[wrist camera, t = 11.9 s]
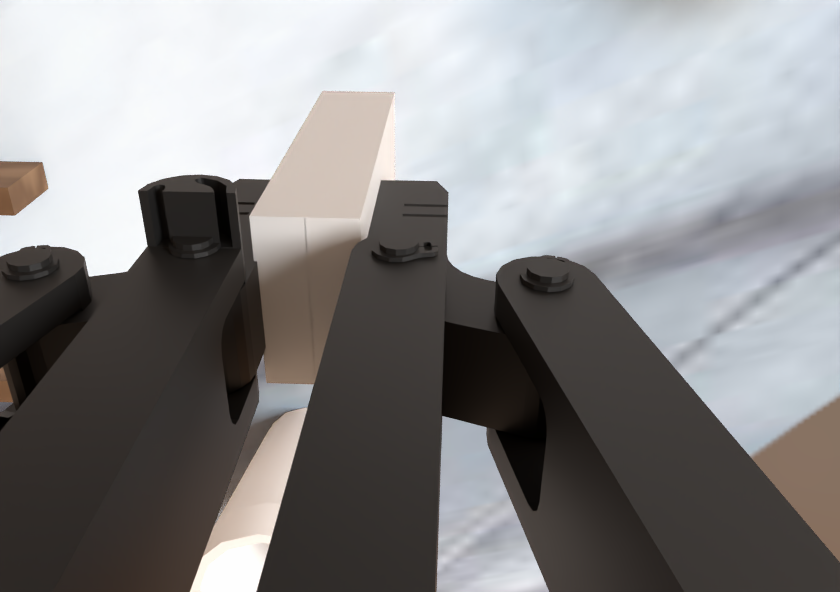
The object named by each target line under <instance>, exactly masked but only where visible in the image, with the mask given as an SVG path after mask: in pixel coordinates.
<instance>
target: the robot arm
mask: <svg viewBox="0 0 840 592" xmlns="http://www.w3.org/2000/svg"><path fill="white" fill-rule="evenodd" d="M138 193H139V199H140V205H141V210H142V216H143V222H144V228H145V233H146V239H147V245H148V247H147V248H146V249H145V250H144V252H143V253H142V254H141V255H140V257H139V258H138V259H137V260H136V262H135V263H134V264H133V265H132V267H131V268H130V269H129V270H128V272H123V273H116V274H108V275H100V276H92V277H89V276H88V272H87V267H86V262H85V258H84V257H83V256H82V255H81V254H80V253H79V252H78V251H75V250H72V249H68V248H65V247H50V246H48V245H41V246H37V248H35V246H31V247H25V248H22V249H20V251H17V252H13V253H9V254H6V255H4V256H1V257H0V369H1V368H2V367H3V369H4V373H5V376H6V379H7V383H8V386H9V390H10V393H11V396H12V400H13V404H12V405H10V406H9V407H8V408H7V409H6V410H4V411H2V412H0V592H190V590H191V587H192V585H193V582H194V579H195V576H196V574H197V571H198V568H199V565H200V563H201V560H202V557H203V554H204V552H205V549H206V546H207V543H208V541H209V538H210V535H211V532H212V529H213V527H214V524H215V521H216V518H217V516H218V513H219V510H220V507H221V505H222V502H223V499H224V496H225V494H226V491H227V488H228V485H229V483H230V480H231V477H232V474H233V472H234V469H235V466H236V463H237V461H238V458H239V455H240V452H241V449H242V447H243V444H244V441H245V438H246V436H247V433H248V430H249V427H250V425H251V422H252V419H253V416H254V414H255V411H256V408H257V405H258V403H259V388H258V379H257V369H258V366H259V364H260V361H261V358H262V356H263V353H264V363H265V372H266V382H267V383H289V384H314V386H313V390H312V394H311V397H310V401H309V404H308V408H307V412H306V415H305V419H304V422H303V426H302V430H301V433H300V437H299V440H298V444H297V447H296V451H295V455H294V458H293V462H292V465H291V469H290V473H289V476H288V480H287V483H286V487H285V491H284V494H283V498H282V501H281V505H280V509H279V512H278V516H277V519H276V523H275V526H274V530H273V534H272V537H271V541H270V544H269V548H268V552H267V555H266V559H265V562H264V566H263V570H262V573H261V577H260V580H259V584H258V587H257V591H256V592H436V589H437V559H438V528H439V497H440V466H441V440H442V416H445V417H449V418H453V419H457V420H461V421H465V422H469V423H472V424H476V425H480V426H484V427H487V432H486V434H487V443H488V447H489V449H490V451H491V454H492V456H493V459H494V461H495V463H496V466H497V468H498V470H499V473H500V475H501V478H502V480H503V482H504V485H505V487H506V489H507V492H508V494H509V497H510V499H511V501H512V504H513V506H514V509H515V511H516V513H517V516H518V518H519V520H520V523H521V525H522V528H523V530H524V532H525V535H526V537H527V540H528V542H529V544H530V547H531V549H532V551H533V554H534V556H535V559H536V561H537V563H538V566H539V568H540V570H541V573H542V575H543V578H544V580H545V582H546V585H547V587H548V590H549V592H840V562H839V561H838V560H837V559H836V557H835V556H834V555H833V554H832V553H831V552H830V550H829V549H828V548H827V547H826V546H825V545H824V543H823V542H822V541H821V540H820V539H819V537H818V536H817V535H816V534H815V533H814V532H813V530H812V529H811V528H810V527H809V526H808V525H807V523H806V522H805V521H804V520H803V519H802V517H801V516H800V515H799V514H798V513H797V512H796V511H795V509H794V508H793V507H792V506H791V504H790V503H789V502H788V501H787V500H786V499H785V497H784V496H783V495H782V494H781V493H780V492H779V490H778V489H777V488H776V487H775V486H774V484H773V483H772V482H771V481H770V480H769V479H768V478H767V476H766V475H765V474H764V473H763V472H762V470H761V469H760V468H759V467H758V466H757V464H756V463H755V462H754V461H753V460H752V459H751V457H750V456H749V455H748V454H747V453H746V451H745V450H744V449H743V448H742V447H741V446H740V444H739V443H738V442H737V441H736V440H735V439H734V437H733V436H732V435H731V434H730V433H729V431H728V430H727V429H726V428H725V427H724V426H723V424H722V423H721V422H720V421H719V420H718V419H717V417H716V416H715V415H714V414H713V413H712V411H711V410H710V409H709V408H708V407H707V406H706V404H705V403H704V402H703V401H702V400H701V398H700V397H699V396H698V395H697V394H696V393H695V391H694V390H693V389H692V388H691V387H690V386H689V384H688V383H687V382H686V381H685V380H684V378H683V377H682V376H681V375H680V374H679V373H678V371H677V370H676V369H675V368H674V367H673V366H672V364H671V363H670V362H669V361H668V360H667V358H666V357H665V356H664V355H663V354H662V353H661V351H660V350H659V349H658V348H657V347H656V346H655V344H654V343H653V342H652V341H651V340H650V338H649V337H648V336H647V335H646V334H645V333H644V331H643V330H642V329H641V328H640V327H639V325H638V324H637V323H636V322H635V321H634V320H633V318H632V317H631V316H630V315H629V314H628V313H627V311H626V310H625V309H624V308H623V307H622V305H621V304H620V303H619V302H618V301H617V300H616V298H615V297H614V296H613V295H612V294H611V293H610V291H609V290H608V289H607V288H606V287H605V285H604V284H603V283H602V282H601V281H600V280H599V278H598V277H597V276H596V275H595V274H594V273H593V272H591V271H590V270H589V269H587V268H586V267H585V266H582V265H580V264H577V263H575V262H572V261H569V260H568V259H566V258H562V257H557V258H555V256H549V255H544V256H541V257H526V258H521V259H516V260H513V261H511V262H509V263H507V264H505V265H503V266H502V267H501V268H500V269H499V271H498V272H497V274H496V282H494V281H489V280H484V279H480V278H477V277H473V276H470V275H468V274H466V273H463V272H461V271H460V270H458V269H457V268H455V267H454V266H453V265H452V264H451V263H450V262H449V260H448V257H447V223H448V192H447V191H446V190H445V189H444V188H443V187H442V186H441V185H440V184H439V183H438V182H437V181H398V180H395V92H344V91H322V93H321V94H320V96H319V98H318V100H317V101H316V103H315V105H314V106H313V108H312V110H311V111H310V113H309V115H308V117H307V118H306V120H305V122H304V123H303V125H302V127H301V129H300V130H299V132H298V134H297V135H296V137H295V139H294V141H293V142H292V144H291V146H290V147H289V149H288V151H287V152H286V154H285V156H284V158H283V159H282V161H281V163H280V164H279V166H278V168H277V170H276V171H275V173H274V175H273V176H272V178H271V180H257V179H239V180H237V181H235V182H234V183H232V182H231V181H230V180H227V179H224V178H221V177H218V176H209V175H183V176H176V177H171V178H165V179H161V180H159V181H156V182H153V183H150V184H147V185H146V186H144V187H143V188H141V189H140V190H138Z"/></svg>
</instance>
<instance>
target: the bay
mask: <svg viewBox="0 0 840 592" xmlns="http://www.w3.org/2000/svg"><path fill="white" fill-rule="evenodd" d="M47 189H48V185H47V180H46V176H45V172H44V168H43V163H42V162H2V161H0V215H16V214H17V213H19V212H20V211H21V210H22V209H24V208H25V207H26V206H27V205H29V204H30V203H31V202H32V201H34V200H35V199H36V198H37V197H39V196H40V195H41V194H42V193H43V192H45V191H46V190H47ZM0 402H13V400H12V396H11V393H10V390H9V386H8V383H7V379H6V376H5V373H4V369H3V367H2V368H1V369H0Z"/></svg>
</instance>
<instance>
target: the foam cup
mask: <svg viewBox="0 0 840 592" xmlns="http://www.w3.org/2000/svg"><path fill="white" fill-rule="evenodd" d="M306 412H307V408H302V409H298V410H294V411H290V412H286V413H285V414H284V415H282V416H281V417H280V418H279V419H278V420H276V421H275V422H274V423H273V424H272V427H271V428H270V429H269V430H268V432H267V434H266V436H265V438H264V439H263V441H262V443H261V445H260V446H259V448H258V450H257V452H256V453H255V455H254V457H253V459H252V461H251V462H250V464H249V466H248V468H247V469H246V471H245V473H244V475H243V477H242V478H241V480H240V482H239V484H238V485H237V487H236V489H235V491H234V492H233V494H232V496H231V498H230V500H229V501H228V503H227V505H226V507H225V508H224V510H223V512H222V514H221V515H220V517H219V519H218V521H217V523H216V524H215V525H214V527H213V529H212V532H211V535H210V538H209V541H208V543H207V546H206V549H205V552H204V554H203V557H202V560H201V563H200V565H199V568H198V571H197V574H196V576H195V579H194V582H193V585H192V587H191V590H190V592H256V591H257V587H258V584H259V580H260V577H261V573H262V570H263V566H264V562H265V559H266V555H267V552H268V548H269V544H270V541H271V537H272V534H273V530H274V526H275V523H276V519H277V516H278V512H279V509H280V505H281V501H282V498H283V494H284V491H285V487H286V483H287V480H288V476H289V473H290V469H291V465H292V462H293V458H294V455H295V451H296V447H297V444H298V440H299V437H300V433H301V430H302V426H303V422H304V419H305V415H306Z"/></svg>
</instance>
